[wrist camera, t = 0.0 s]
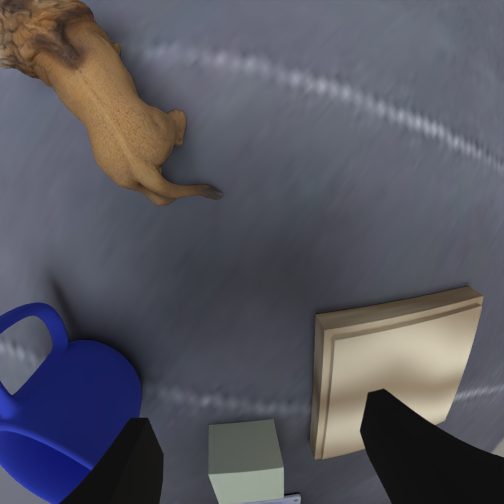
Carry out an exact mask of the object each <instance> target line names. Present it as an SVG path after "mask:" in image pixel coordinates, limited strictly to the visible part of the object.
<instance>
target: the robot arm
mask: <svg viewBox="0 0 504 504" xmlns="http://www.w3.org/2000/svg"><path fill="white" fill-rule="evenodd" d="M360 434H361V437H362V440H363V443H364V446H365V449H366V452H367V455H368V457H369V459H370V461H371V463H372V465H373V467H374V469H375V471H376V473H377V475H378V477H379V479H380V481H381V483H382V485H383V486H384V488H385V490H386V492H387V494H388V496H389V498H390V500H391V503H392V504H504V457H501V456H498V455H494V454H491V453H488V452H486V451H483V450H481V449H478V448H476V447H474V446H472V445H469V444H467V443H465V442H463V441H461V440H459V439H457V438H455V437H454V436H452V435H450V434H448V433H447V432H445V431H443V430H441V429H440V428H438V427H437V426H435V425H434V424H432V423H431V422H429V421H428V420H426V419H425V418H423V417H422V416H420V415H419V414H418V413H416V412H415V411H413V410H412V409H411V408H409V407H408V406H407V405H405V404H404V403H403V402H401V401H400V400H399V399H397V398H396V397H395V396H393V395H392V394H391V393H390V392H388V391H387V390H385V389H384V388H383V389H379V390H376V391H372V392H368V394H367V399H366V404H365V409H364V413H363V418H362V422H361V427H360ZM163 456H164V454H163V452H162V450H161V447H160V445H159V443H158V441H157V438H156V436H155V434H154V431H153V429H152V426H151V424H150V422H149V419H148V418H130V419H129V420H128V421H127V423H126V424H125V426H124V427H123V429H122V430H121V431H120V433H119V434H118V436H117V437H116V438H115V440H114V441H113V443H112V444H111V445H110V447H109V448H108V450H107V451H106V452H105V453H104V455H103V456H102V457H101V459H100V460H99V461H98V463H97V464H96V465H95V466H94V468H93V469H92V470H91V471H90V472H89V473H88V474H87V476H86V477H85V478H84V479H83V480H82V481H81V483H80V484H79V485H78V486H77V487H76V488H75V489H74V490H73V491H72V492H71V493H70V494H69V495H68V496H67V497H66V498H64V499H63V500H62V501H61V502H60V503H59V504H159V502H160V495H161V489H162V482H163ZM300 502H301V495H300V494H294V495H288V496H284V498H280V499H273V500H265V501H256V502H246V503H233V504H300Z"/></svg>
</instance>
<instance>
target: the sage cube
mask: <svg viewBox="0 0 504 504" xmlns="http://www.w3.org/2000/svg"><path fill="white" fill-rule="evenodd" d="M208 475H209V478H210V480H211V483H212V486H213V489H214V491H215V494H216V497H217V499H218V502H219V504H233V503H246V502H256V501H265V500H273V499H280V498H284V466H283V462H282V457H281V452H280V448H279V443H278V438H277V434H276V429H275V424H274V419H267V420H259V421H250V422H240V423H228V424H215V425H209V438H208Z"/></svg>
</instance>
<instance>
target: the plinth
mask: <svg viewBox="0 0 504 504" xmlns="http://www.w3.org/2000/svg"><path fill="white" fill-rule="evenodd" d="M482 301H483V295H482V294H480V293H478V292H477V291H475V290H474V289H472V288H470V287H469V286H466V287H462V288H458V289H453V290H449V291H444V292H439V293H435V294H430V295H425V296H420V297H415V298H410V299H405V300H400V301H395V302H389V303H384V304H378V305H372V306H367V307H361V308H355V309H348V310H342V311H336V312H329V313H322V314H315V348H314V376H313V396H312V413H311V428H310V441H309V443H310V446H311V449H312V453H313V456H314V459H319V458H322V459H326V458H331V457H335V456H339V455H344V454H348V453H351V452H355V451H359V450H363V449H365V446H364V443H363V440H362V437H361V434H360V427H361V422H362V418H363V413H364V409H365V404H366V399H367V394H368V392H372V391H376V390H379V389H383V388H384V389H385V390H387V391H388V392H390V393H391V394H392V395H393V396H395V397H396V398H397V399H399V400H400V401H401V402H403V403H404V404H405V405H407V406H408V407H409V408H411V409H412V410H413V411H415V412H416V413H418V414H419V415H420V416H422V417H423V418H425V419H426V420H428V421H429V422H431V423H432V424H434V425H436V424H438V423H440V422H443V421H445V419H446V416H447V414H448V412H449V409H450V407H451V404H452V402H453V399H454V397H455V394H456V392H457V389H458V386H459V384H460V381H461V378H462V375H463V372H464V369H465V366H466V363H467V360H468V357H469V354H470V350H471V347H472V344H473V340H474V337H475V333H476V329H477V325H478V321H479V317H480V313H481V309H482Z"/></svg>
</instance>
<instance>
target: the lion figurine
mask: <svg viewBox="0 0 504 504" xmlns="http://www.w3.org/2000/svg"><path fill="white" fill-rule="evenodd" d="M120 50H121V49H120V46H119V45H118V44H117V43H112V42H111V40H110V39H109V38H108V36H107V33H106V32H105V31H104V30H102V29H101V28H100V26H99V25H98V24H97V23H96V22H95V20H94V16H93V13H92V11H91V10H90V8H89V7H87V6H86V5H85V4H84V3H83V2H80V1H79V0H0V66H1V67H3V68H5V69H8V68H14V69H15V68H16V69H18V70H19V71H21V72H22V73H24V74H26V75H28V76H30V77H32V78H38V79H41V80H42V81H43V82H44V83H45V84H46V85H47V86H50V87H53V88H54V90H55V92H56V93H57V95H58V97H59V98H60V100H61V101H62V102H63V103H64V105H65V106H66V107H67V108H68V109H69V110H70V111H71V112H72V113H73V114H74V115H75V116H76V117H77V118H78V119H79V120H80V121H81V122H82V123H83V124H84V125H85V126H86V128H87V131H88V134H89V138H90V142H91V146H92V150H93V154H94V158H95V160H96V163H97V164H98V166H99V167H100V168H101V169H102V170H103V171H104V172H105V173H106V174H107V175H108V176H109V177H110V178H111V179H112V180H113V181H114V182H115V183H116V184H118V185H119V186H121V187H123V188H127V189H132V190H135V191H138V192H141V193H143V194H144V195H146V196H147V197H148V198H149V199H150V200H151V201H152V202H153V203H154V204H156V205H159V206H162V205H168V204H170V203H171V202H173V201H174V200H175V198H181V197H185V196H192V195H202V196H204V197H206V198H211V199H213V200H219V199H221V198H222V196H223V194H222V193H221V192H219V191H218V190H216V189H215V188H213V187H211V186H208V185H188V186H183V185H176V184H173V183H170V182H169V181H167V180H166V179H164V178H163V176H162V175H161V172H162V169H161V164H162V163H164V162H165V161H166V160H167V159H168V157H169V156H170V154H171V152H172V149H173V147H174V145H175V146H181V145H182V144H183V137H184V131H185V128H186V116H185V114H184V112H183V111H181V110H178V109H175V110H172V111H170V112H169V113H168V114H166V113H165V112H163V111H161V110H160V109H158V108H156V107H152V106H149V105H148V104H146V103H145V102H143V101H142V100H141V99H140V98H139V96H138V93H137V90H136V87H135V84H134V82H133V79H132V77H131V75H130V73H129V72H128V70H127V69H126V68H125V66H124V65H123V63H122V60H121V58H120V57H119V54H120Z"/></svg>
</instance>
